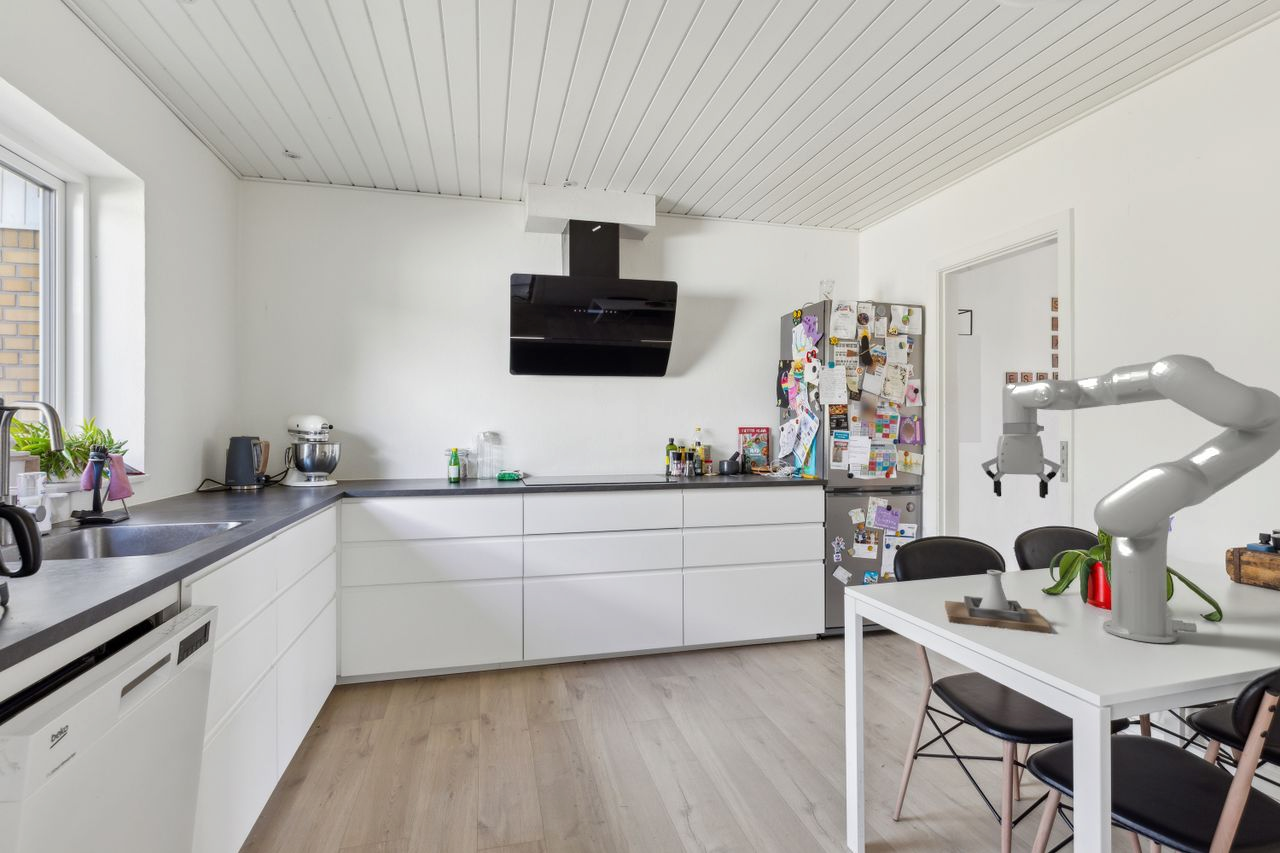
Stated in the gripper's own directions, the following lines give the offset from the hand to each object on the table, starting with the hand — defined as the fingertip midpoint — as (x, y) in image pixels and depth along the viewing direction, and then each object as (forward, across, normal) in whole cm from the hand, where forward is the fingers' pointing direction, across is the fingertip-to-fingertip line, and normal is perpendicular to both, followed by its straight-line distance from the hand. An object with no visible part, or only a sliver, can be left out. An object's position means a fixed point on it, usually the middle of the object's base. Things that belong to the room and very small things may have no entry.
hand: (1020, 496), depth 154 cm
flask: (+27, +8, +14) cm, 31 cm away
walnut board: (+28, +8, +14) cm, 33 cm away
